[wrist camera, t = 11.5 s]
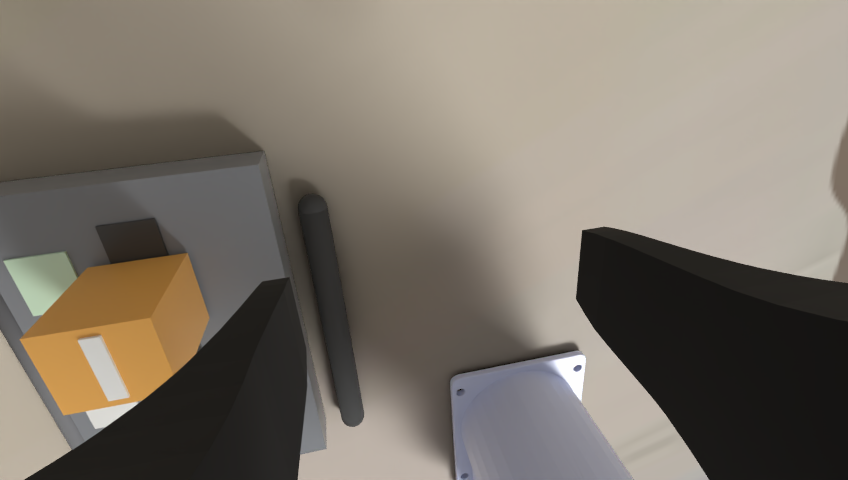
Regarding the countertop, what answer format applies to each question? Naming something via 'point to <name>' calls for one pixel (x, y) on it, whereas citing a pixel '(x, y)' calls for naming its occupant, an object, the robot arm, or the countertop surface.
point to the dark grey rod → (331, 305)
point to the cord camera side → (36, 376)
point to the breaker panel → (150, 244)
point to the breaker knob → (118, 332)
